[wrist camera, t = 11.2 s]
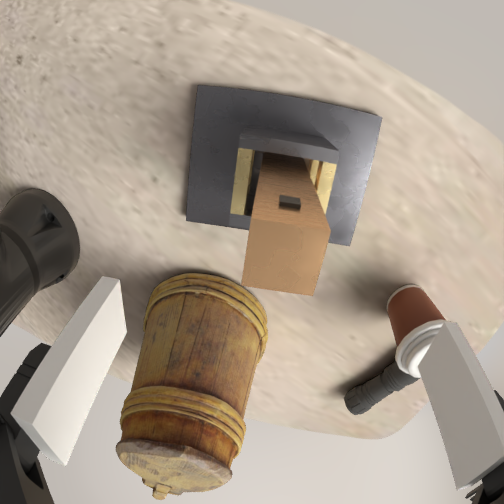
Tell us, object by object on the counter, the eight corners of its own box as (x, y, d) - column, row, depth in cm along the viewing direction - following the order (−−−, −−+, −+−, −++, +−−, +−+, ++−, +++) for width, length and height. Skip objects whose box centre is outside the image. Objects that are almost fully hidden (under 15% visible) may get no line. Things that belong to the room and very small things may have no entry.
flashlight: (357, 399, 55) (361, 421, 50) (340, 389, 54) (343, 413, 49) (421, 355, 49) (430, 377, 44) (407, 343, 47) (416, 366, 43)
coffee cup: (440, 277, 41) (476, 331, 30) (421, 325, 45) (446, 381, 35) (387, 274, 41) (415, 333, 31) (371, 325, 45) (389, 386, 35)
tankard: (285, 290, 43) (288, 465, 21) (241, 389, 54) (226, 517, 32) (155, 254, 42) (69, 406, 20) (144, 363, 53) (100, 484, 31)
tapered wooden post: (259, 182, 35) (241, 285, 18) (264, 145, 33) (251, 213, 15) (294, 188, 35) (312, 295, 18) (301, 151, 33) (332, 226, 16)
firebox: (188, 217, 39) (167, 252, 31) (200, 85, 31) (177, 84, 23) (347, 241, 39) (364, 281, 31) (378, 116, 31) (410, 125, 24)
